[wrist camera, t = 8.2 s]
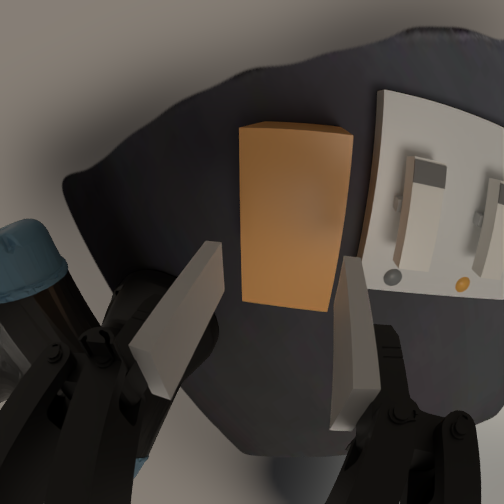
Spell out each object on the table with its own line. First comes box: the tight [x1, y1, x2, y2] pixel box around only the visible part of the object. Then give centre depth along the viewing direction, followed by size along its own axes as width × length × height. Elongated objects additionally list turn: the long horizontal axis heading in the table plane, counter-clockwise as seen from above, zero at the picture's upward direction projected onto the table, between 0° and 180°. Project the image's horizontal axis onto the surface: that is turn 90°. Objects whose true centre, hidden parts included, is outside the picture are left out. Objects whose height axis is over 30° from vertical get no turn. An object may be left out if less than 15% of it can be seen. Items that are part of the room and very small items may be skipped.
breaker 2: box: [472, 178, 504, 280], centre depth 15 cm, size 3×8×2 cm, turn 0°
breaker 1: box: [393, 156, 447, 272], centre depth 17 cm, size 3×8×2 cm, turn 0°
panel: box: [357, 90, 504, 300], centre depth 18 cm, size 23×17×4 cm
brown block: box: [239, 121, 353, 312], centre depth 20 cm, size 6×12×8 cm, turn 0°
